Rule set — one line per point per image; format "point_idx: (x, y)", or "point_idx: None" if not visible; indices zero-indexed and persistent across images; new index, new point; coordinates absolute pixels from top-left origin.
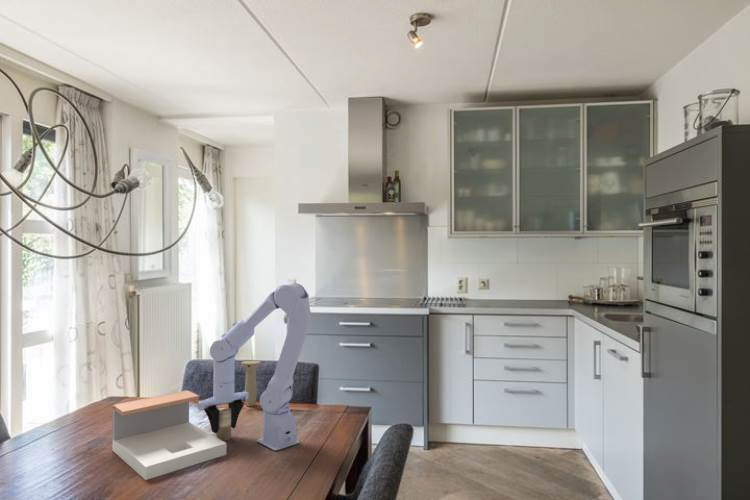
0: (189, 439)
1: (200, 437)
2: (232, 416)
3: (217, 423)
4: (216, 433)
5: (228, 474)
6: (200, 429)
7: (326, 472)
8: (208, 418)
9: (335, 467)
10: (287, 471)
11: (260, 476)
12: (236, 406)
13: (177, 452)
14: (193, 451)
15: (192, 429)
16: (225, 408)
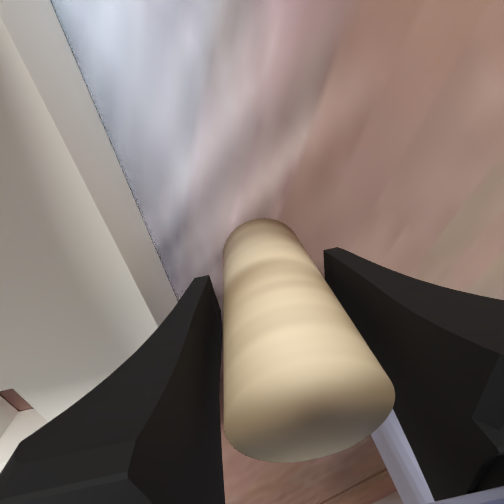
0: (40, 375)
1: (108, 372)
2: (365, 324)
3: (216, 375)
4: (223, 272)
5: None
6: (107, 249)
7: (365, 500)
8: (145, 342)
9: (391, 493)
10: (312, 488)
11: (255, 492)
12: (432, 487)
13: (4, 465)
14: None
15: (35, 216)
16: (350, 387)
